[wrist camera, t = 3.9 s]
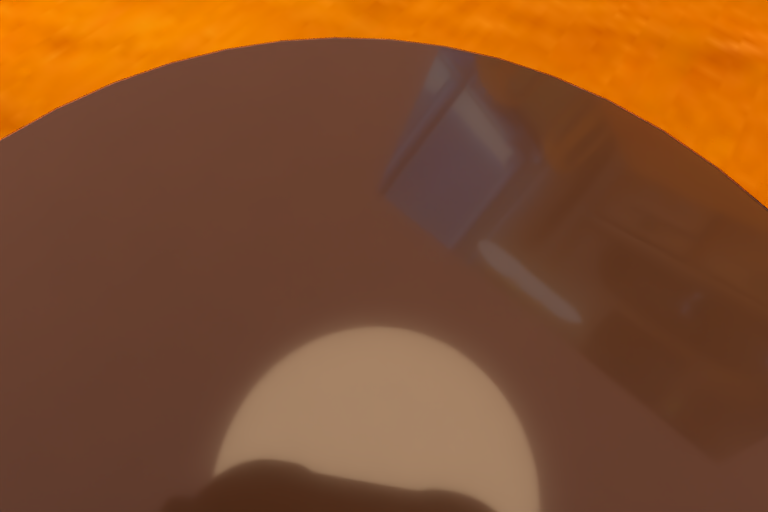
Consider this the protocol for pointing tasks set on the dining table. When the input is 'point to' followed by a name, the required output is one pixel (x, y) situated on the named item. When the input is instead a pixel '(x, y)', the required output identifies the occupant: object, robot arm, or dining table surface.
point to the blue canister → (374, 295)
